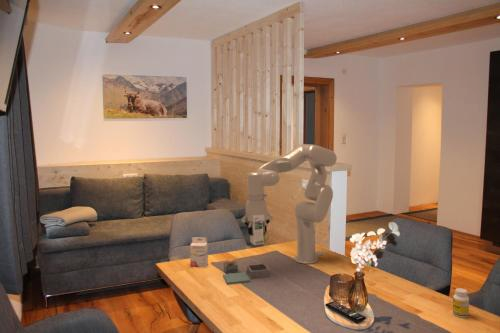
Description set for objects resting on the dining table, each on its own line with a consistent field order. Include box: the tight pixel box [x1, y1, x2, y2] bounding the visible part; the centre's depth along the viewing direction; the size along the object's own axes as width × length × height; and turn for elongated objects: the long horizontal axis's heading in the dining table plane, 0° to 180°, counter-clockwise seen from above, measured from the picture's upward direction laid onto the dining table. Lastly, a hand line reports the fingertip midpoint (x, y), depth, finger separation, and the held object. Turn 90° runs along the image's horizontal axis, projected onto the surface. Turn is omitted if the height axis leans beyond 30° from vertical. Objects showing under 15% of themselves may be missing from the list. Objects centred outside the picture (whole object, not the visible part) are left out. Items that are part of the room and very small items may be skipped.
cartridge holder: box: [246, 263, 271, 280], centre depth 210 cm, size 9×9×4 cm
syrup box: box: [249, 215, 266, 246], centre depth 208 cm, size 6×6×14 cm
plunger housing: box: [223, 260, 239, 274], centre depth 215 cm, size 6×6×4 cm
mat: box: [222, 271, 251, 286], centre depth 205 cm, size 11×11×1 cm
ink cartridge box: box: [189, 236, 209, 268], centre depth 225 cm, size 9×5×15 cm, turn 84°
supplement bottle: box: [452, 287, 470, 319], centre depth 162 cm, size 5×5×10 cm
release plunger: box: [225, 257, 235, 265], centre depth 215 cm, size 4×4×6 cm
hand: (257, 233), depth 208 cm, fingers closed on syrup box, 6 cm apart
